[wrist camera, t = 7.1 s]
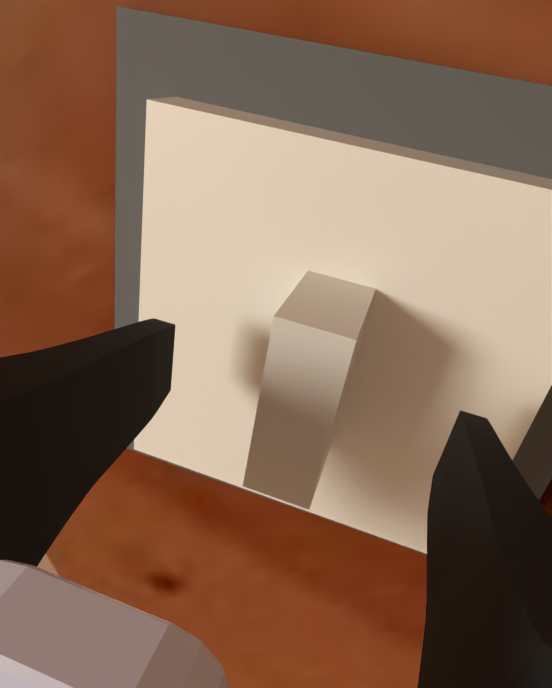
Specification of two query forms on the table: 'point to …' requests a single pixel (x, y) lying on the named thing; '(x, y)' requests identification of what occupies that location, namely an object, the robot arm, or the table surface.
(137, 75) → the mat
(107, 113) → the table surface
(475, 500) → the robot arm
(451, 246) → the lid
